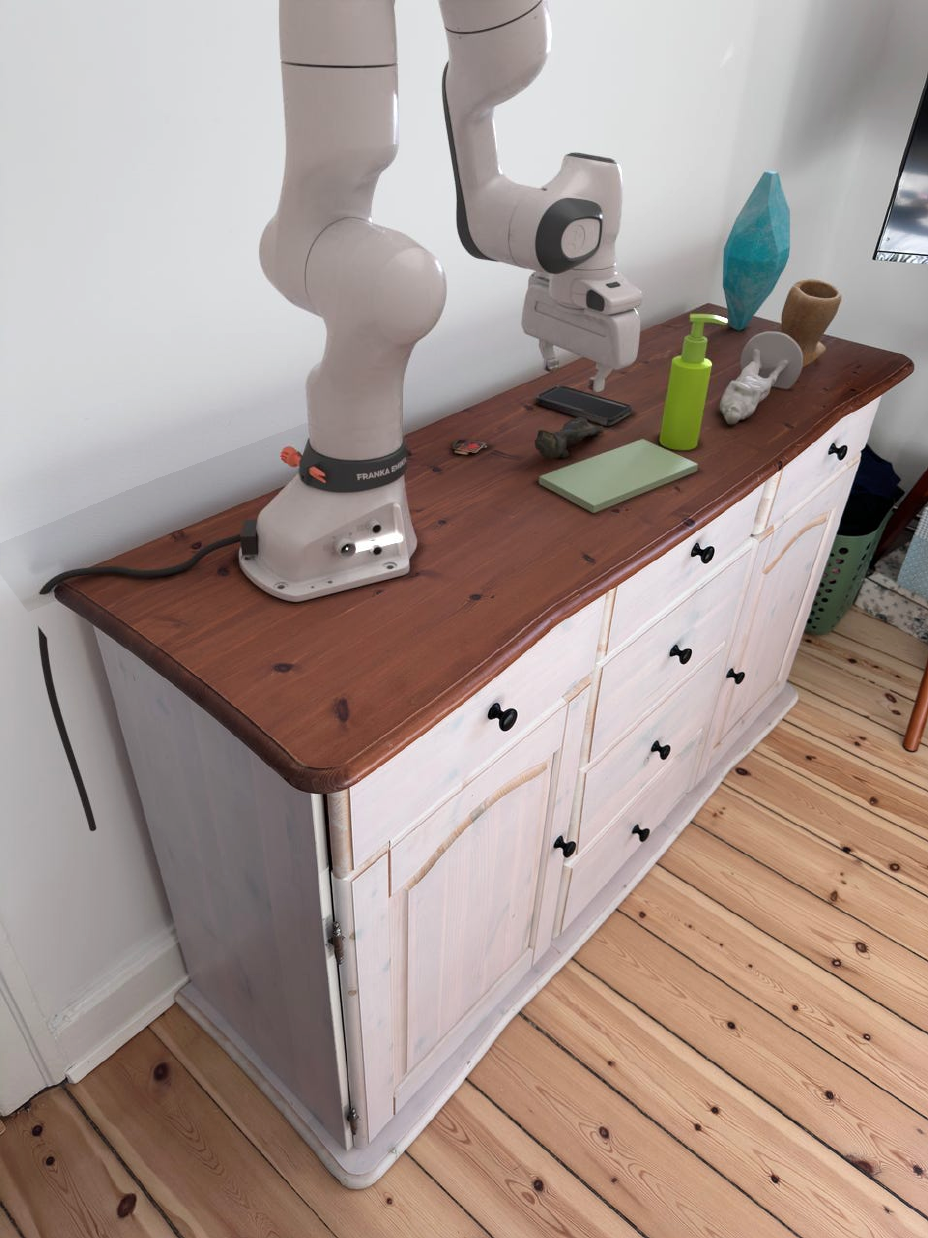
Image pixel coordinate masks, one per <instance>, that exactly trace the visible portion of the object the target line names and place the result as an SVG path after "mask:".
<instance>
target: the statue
mask: <svg viewBox="0 0 928 1238" xmlns="http://www.w3.org/2000/svg"><path fill="white" fill-rule="evenodd" d="M604 432H605V429H604V427H603V425H599V426H595V424H592V423H589V422H588V420H586V419H585V418H583V417H575V418H570V419H569V420H568V421H567V422H565V423H564V424H563V426H562V427H561V429H559V431H554V432H550V431H547V430H544V429H540V430H538V431H537V434H536V435H537V436H536V438H535V440H534V445H535V449H536V450H537V451H538V452H539V454H540V456H541V457H542V458H544V459H545V460H551V459H555V458H557V459H559V458H561V459H566V458H568V457H569V455H570V452H569V451H568V449H567V446H571V445H573V444H577V443H580V442H581V441H582V440H583V439H584V438H585V437H588V436H589V437H595V436H596V437H597V436H599V435H600V434H604Z"/></svg>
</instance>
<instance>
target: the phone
mask: <svg viewBox="0 0 928 1238" xmlns="http://www.w3.org/2000/svg"><path fill="white" fill-rule="evenodd" d="M535 399H536V400H535V403H536V405H537V406H541V407H544V408H548V409H550V410H554V411H558V412H561V413H563V414H566V415H570V416H573V417H575V418H579V417H583V418H585V419H586V420H587V421H590V422H593V423H595V424H599V425H601V426H607V427H609V426H610V427H611V426H613V425H616V424H617V423H619V422H621V421H622V420H624V419H625V418H628V417H629V416H630V415H631V414H632V409H633V408H632V406H631V405H630V404H627V403H623V402H620V401H617V400H614V399H609V398H607V397H603V396H600V395H596V394H593V393H589V392H587V391H583V390H580V389H576V388H573V387H569V386H566V385H555V386H553V387H551V388H549V389H547V390H545V391H543V392H541V393H539V394H537V395H536V398H535Z"/></svg>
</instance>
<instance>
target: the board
mask: <svg viewBox="0 0 928 1238" xmlns="http://www.w3.org/2000/svg"><path fill="white" fill-rule="evenodd" d="M698 467H699V464H698V463H697V462H694V461H692V460H691V459H688V458H686V457H683V456H681V455H679V454H678V453H675V452H672V451H670V450H668V449H667V448H664V447H662V446H659V445H657V444H656V443H652V442H650V441H649V440H647V439H644V438H641V439H639V440H636V441H633V442H630V443H627V444H625V445H621V446H619V447H616V448H614V449H611V450H608V451H605V452H602V453H600V454H597V455H594V456H591V457H588V458H585V459H584V460H580V461H578V462H575V463H573V464H569V465H567V466H564V467H561V468H559V469H556V470H553V471H550V472H547V473H544V474H542V475H539V476H538V478H539V479H538V484H539V485H540V486H543V487H544V488H546V489H548V490H550V491H552V492H554V493H555V494H557V495H559V496H561V497H563V498H564V499H566V500H568V501H570V502H572V503H574V504H576V505H578V507H581V508H583V509H585V510H586V511H589V512H590V513H592V514H595V513H598V512H600V511H603V510H605V509H607V508H611V507H612V506H615V505H617V504H620V503H622V502H625V501H627V500H630V499H632V498H635V497H637V496H639V495H642V494H645V493H646V492H649V491H652V490H654V489H656V488H659V487H662V486H664V485H667V484H669V483H671V482H674V481H677V480H678V479H679V480H680V479H681V478H684V477H686V476H688V475H691V474H694V473H696V472H698Z"/></svg>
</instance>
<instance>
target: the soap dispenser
mask: <svg viewBox="0 0 928 1238" xmlns="http://www.w3.org/2000/svg"><path fill="white" fill-rule="evenodd" d="M689 323H692V324H691V325H692V326H691V330H690V333H689V334H688V335H686V336H684V339H683V344H682V345H683V346H682V350H681V355H677V356H674V357H673V358H672V359H671V366H670V372H669V378H668V384H667V390H666V396H665V403H664V409H663V416H662V421H661V427H660V428H661V429H660V434H659V443H660V444H661V445H662V446H663V447H665V448H666V449H670V450H674V451H690V450H694V449H696V447H697V446H698V442H699V438H700V437H699V436H700V431H701V425H702V420H703V415H704V409H705V405H706V399H707V395H708V394H707V393H708V388H709V382H710V378H711V372H712V366H713V363H712V361H711V360H710V359H708V358H705V357H706V351H707V346H708V338H707V337H705V335H703V334H704V330H705V323H713V324H717V325H721V326H726V325H728V319H727V318H726V317H723V316H720V315H716V314H709V313H690V314H689Z"/></svg>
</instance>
